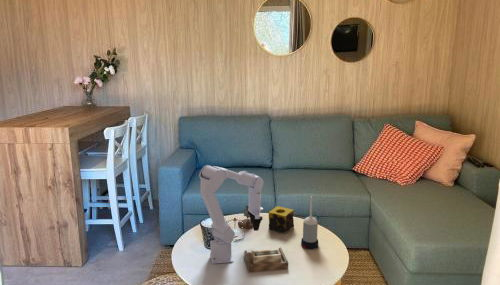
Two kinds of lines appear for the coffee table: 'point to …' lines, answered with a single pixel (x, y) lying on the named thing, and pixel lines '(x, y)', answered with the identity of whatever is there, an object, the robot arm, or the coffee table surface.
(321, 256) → the coffee table surface
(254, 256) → the tumbler tray
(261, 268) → the wooden tray
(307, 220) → the humidifier
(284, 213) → the candle
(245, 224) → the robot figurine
